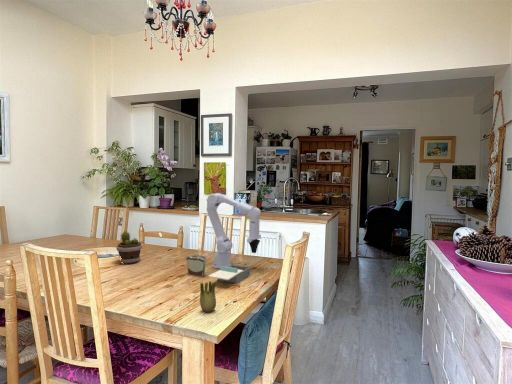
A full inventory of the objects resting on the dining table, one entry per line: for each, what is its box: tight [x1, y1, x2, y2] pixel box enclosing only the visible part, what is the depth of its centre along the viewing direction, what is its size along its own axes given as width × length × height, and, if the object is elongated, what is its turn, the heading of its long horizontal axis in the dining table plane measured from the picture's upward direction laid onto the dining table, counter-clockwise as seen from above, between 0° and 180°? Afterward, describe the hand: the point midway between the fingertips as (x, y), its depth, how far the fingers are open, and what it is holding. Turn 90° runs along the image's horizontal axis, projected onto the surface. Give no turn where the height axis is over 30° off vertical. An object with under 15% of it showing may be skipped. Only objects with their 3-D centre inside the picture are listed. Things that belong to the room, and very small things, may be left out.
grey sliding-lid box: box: [217, 264, 251, 285], centre depth 171 cm, size 11×16×4 cm
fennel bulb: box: [199, 280, 217, 313], centre depth 129 cm, size 6×5×12 cm
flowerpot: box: [115, 230, 143, 265], centre depth 197 cm, size 14×15×20 cm
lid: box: [207, 266, 243, 280], centre depth 163 cm, size 11×16×2 cm
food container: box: [185, 254, 207, 278], centre depth 175 cm, size 12×6×10 cm, turn 65°
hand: (253, 252), depth 183 cm, fingers closed
